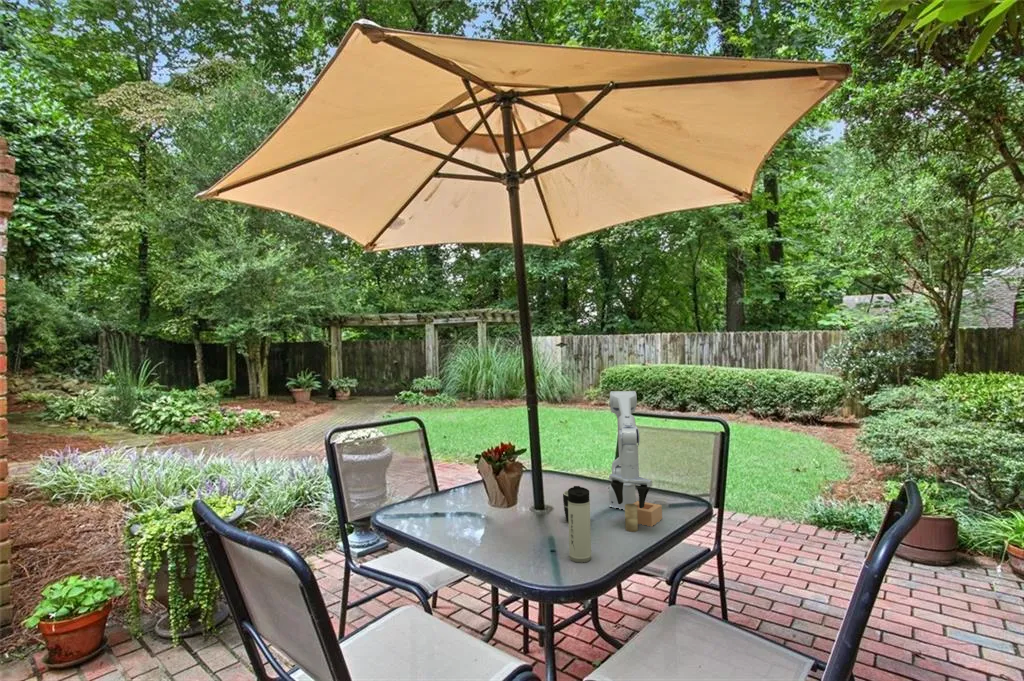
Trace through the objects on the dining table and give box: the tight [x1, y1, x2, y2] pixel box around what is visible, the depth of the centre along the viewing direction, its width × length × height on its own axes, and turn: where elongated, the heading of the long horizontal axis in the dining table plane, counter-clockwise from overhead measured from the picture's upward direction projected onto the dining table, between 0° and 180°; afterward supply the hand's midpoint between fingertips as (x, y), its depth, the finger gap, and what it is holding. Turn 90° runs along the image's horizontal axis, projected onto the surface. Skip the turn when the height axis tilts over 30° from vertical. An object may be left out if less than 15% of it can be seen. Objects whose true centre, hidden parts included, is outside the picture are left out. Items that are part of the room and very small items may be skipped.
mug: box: [562, 489, 569, 524], centre depth 170 cm, size 12×9×10 cm
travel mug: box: [567, 485, 592, 564], centre depth 142 cm, size 6×7×20 cm
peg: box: [624, 504, 639, 533], centre depth 163 cm, size 4×4×8 cm
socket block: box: [633, 500, 663, 528], centre depth 171 cm, size 9×9×5 cm
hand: (630, 505), depth 163 cm, fingers open, 7 cm apart
